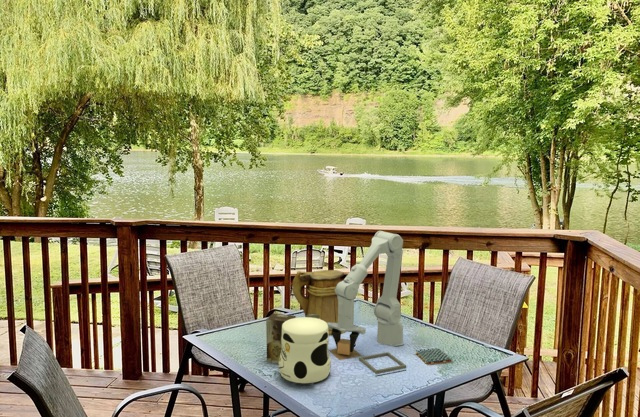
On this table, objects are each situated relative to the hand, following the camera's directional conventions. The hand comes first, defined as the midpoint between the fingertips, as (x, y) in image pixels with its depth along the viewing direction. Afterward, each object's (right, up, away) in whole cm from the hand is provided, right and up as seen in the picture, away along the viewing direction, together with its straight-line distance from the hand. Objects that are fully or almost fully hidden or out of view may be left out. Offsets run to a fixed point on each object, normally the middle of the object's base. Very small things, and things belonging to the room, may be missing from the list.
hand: (345, 350), depth 187 cm
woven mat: (+32, -4, -1) cm, 32 cm away
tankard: (-9, +1, +26) cm, 27 cm away
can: (-12, -1, +8) cm, 15 cm away
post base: (0, -2, 0) cm, 2 cm away
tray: (+13, -3, -8) cm, 15 cm away
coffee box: (-23, -3, -4) cm, 24 cm away
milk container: (-14, -5, -17) cm, 22 cm away
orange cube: (0, -1, 0) cm, 1 cm away
